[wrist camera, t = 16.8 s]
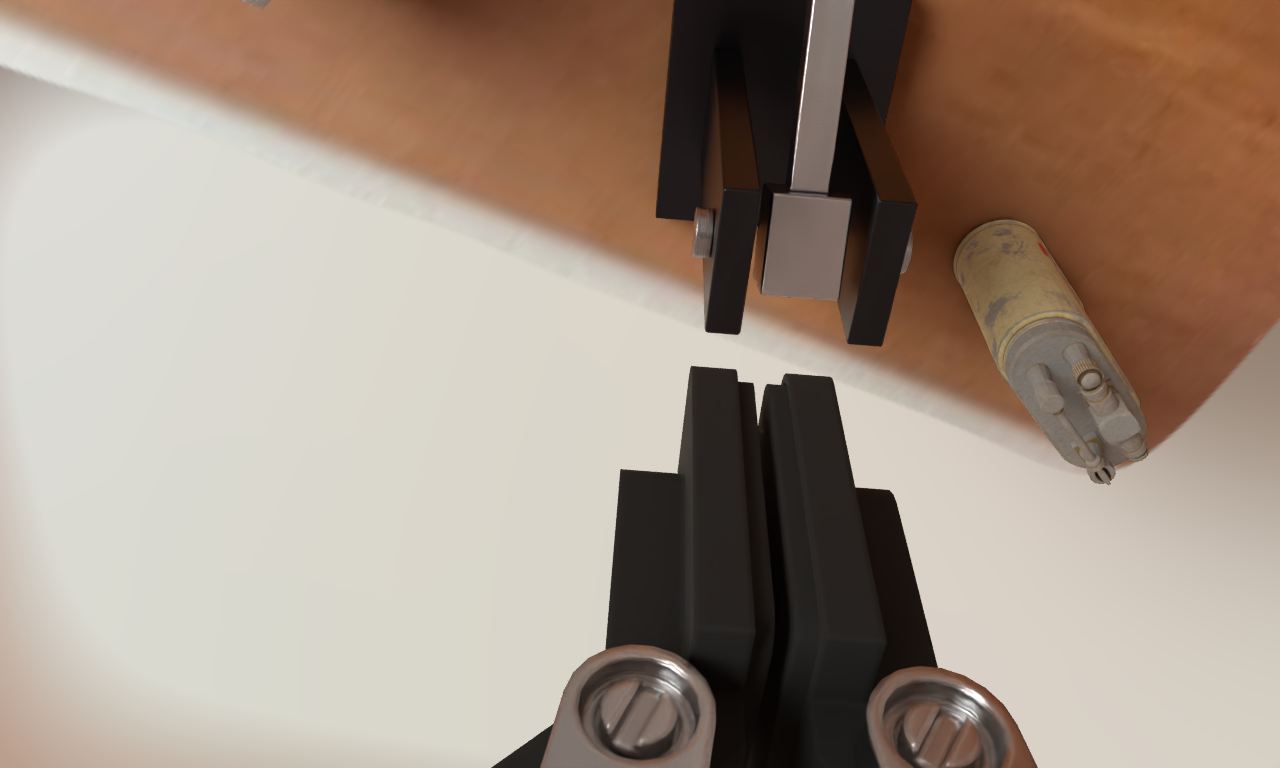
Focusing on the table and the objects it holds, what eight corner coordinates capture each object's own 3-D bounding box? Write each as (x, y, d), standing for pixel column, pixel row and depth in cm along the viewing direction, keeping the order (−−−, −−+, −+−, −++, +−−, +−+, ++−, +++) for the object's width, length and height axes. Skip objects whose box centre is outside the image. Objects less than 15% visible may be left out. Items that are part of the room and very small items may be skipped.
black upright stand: (676, -34, 35) (672, 94, 24) (907, -16, 35) (1002, 121, 24) (656, 204, 40) (645, 395, 29) (857, 220, 40) (917, 416, 29)
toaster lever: (750, -185, 26) (759, -208, 24) (941, -169, 26) (969, -191, 24) (705, 273, 30) (709, 291, 28) (872, 287, 30) (890, 305, 28)
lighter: (1095, 323, 42) (1192, 480, 34) (1012, 368, 44) (1086, 529, 36) (1015, 201, 39) (1101, 340, 31) (929, 254, 41) (989, 401, 32)
